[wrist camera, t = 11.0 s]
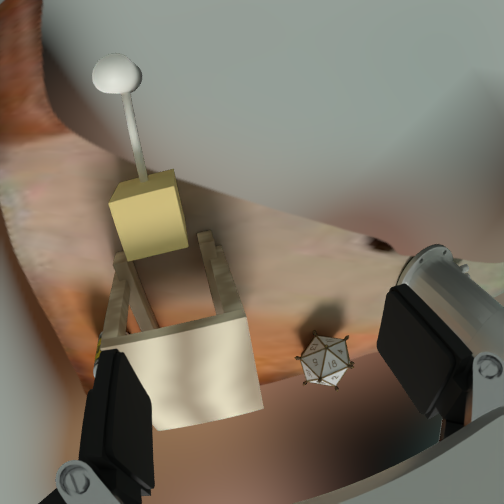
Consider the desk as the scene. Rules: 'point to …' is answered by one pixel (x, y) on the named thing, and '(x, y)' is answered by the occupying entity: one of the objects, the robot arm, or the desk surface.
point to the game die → (325, 360)
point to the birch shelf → (187, 348)
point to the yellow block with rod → (141, 178)
